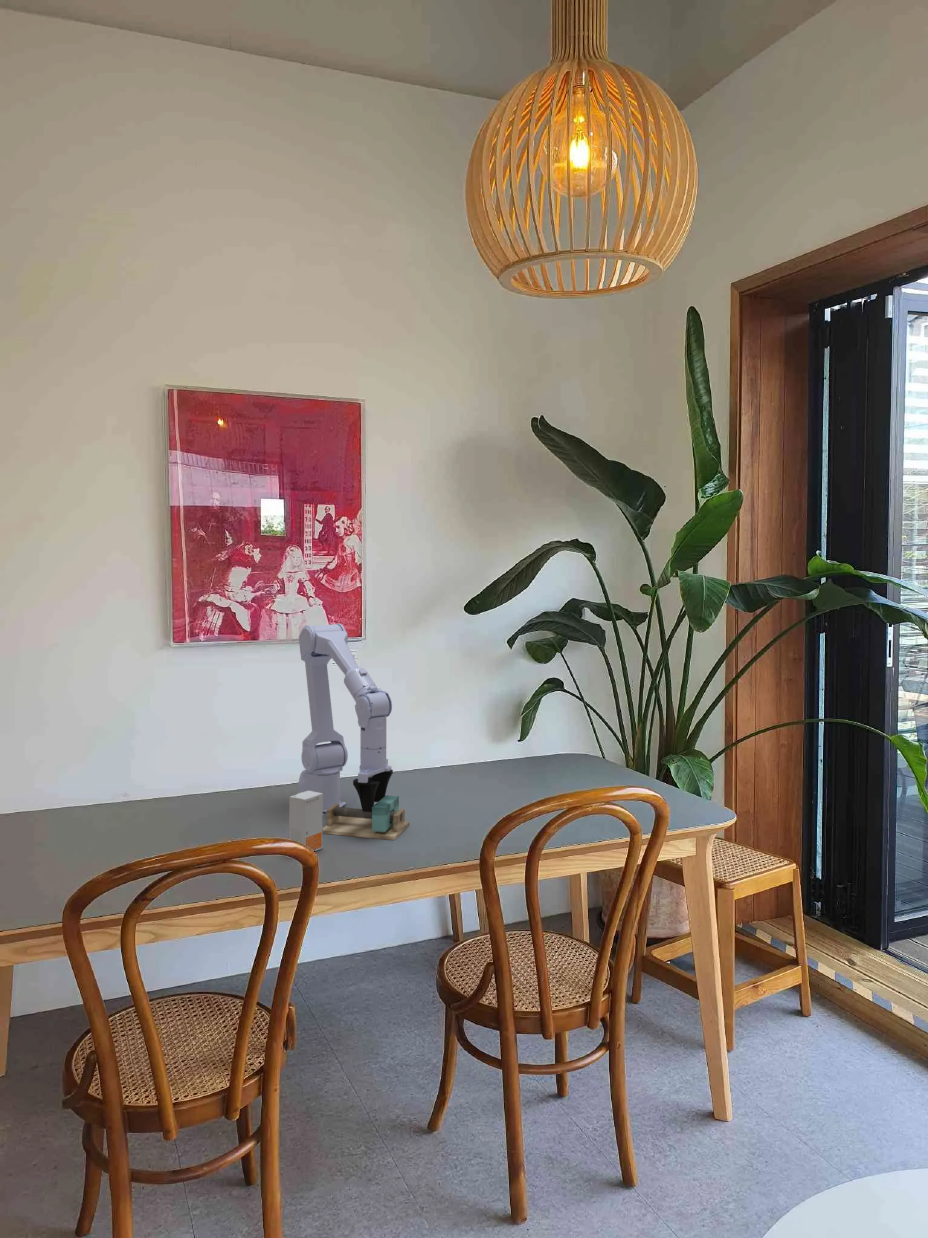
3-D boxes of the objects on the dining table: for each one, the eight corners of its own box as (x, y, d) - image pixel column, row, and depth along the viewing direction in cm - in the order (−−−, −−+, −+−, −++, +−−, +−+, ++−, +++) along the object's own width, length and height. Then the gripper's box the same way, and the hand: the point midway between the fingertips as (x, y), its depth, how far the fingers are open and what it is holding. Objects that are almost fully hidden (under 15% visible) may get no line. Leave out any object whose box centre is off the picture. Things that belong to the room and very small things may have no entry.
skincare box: (304, 857, 199) (304, 799, 198) (288, 853, 201) (288, 796, 200) (323, 848, 204) (323, 793, 203) (308, 845, 206) (307, 789, 205)
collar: (372, 830, 212) (372, 807, 212) (386, 818, 221) (386, 795, 221) (385, 832, 211) (385, 808, 211) (398, 819, 221) (398, 796, 220)
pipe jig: (320, 833, 214) (320, 813, 214) (338, 819, 225) (338, 799, 224) (394, 840, 210) (394, 819, 210) (409, 825, 221) (409, 805, 220)
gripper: (379, 755, 207) (379, 817, 209) (400, 740, 221) (400, 799, 223) (348, 753, 209) (348, 814, 210) (371, 738, 223) (371, 796, 224)
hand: (373, 806), depth 217 cm, fingers open, 7 cm apart
